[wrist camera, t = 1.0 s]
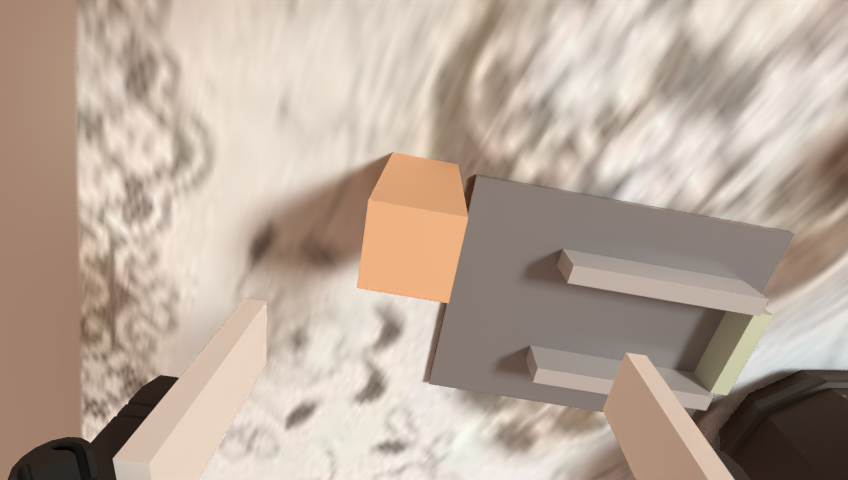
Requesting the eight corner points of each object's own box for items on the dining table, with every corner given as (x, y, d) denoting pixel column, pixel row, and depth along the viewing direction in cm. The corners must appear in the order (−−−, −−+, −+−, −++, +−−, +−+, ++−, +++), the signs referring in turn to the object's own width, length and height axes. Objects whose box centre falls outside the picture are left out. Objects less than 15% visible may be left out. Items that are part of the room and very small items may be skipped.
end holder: (476, 174, 32) (480, 187, 29) (788, 231, 33) (827, 249, 30) (429, 379, 40) (428, 408, 37) (684, 420, 41) (705, 452, 37)
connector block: (392, 152, 32) (368, 199, 21) (457, 164, 32) (468, 217, 21) (383, 214, 34) (356, 287, 23) (445, 225, 34) (448, 303, 23)
